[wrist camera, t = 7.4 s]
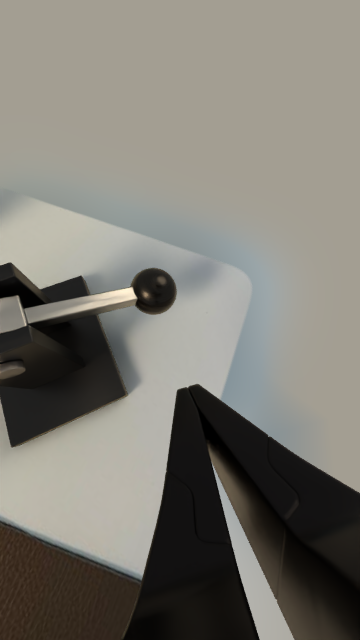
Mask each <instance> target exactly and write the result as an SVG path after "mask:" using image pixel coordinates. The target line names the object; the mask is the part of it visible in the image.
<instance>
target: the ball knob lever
mask: <svg viewBox="0 0 360 640" xmlns="http://www.w3.org/2000/svg"><path fill="white" fill-rule="evenodd" d="M176 294H177V289H176V284H175V282H174V280H173V278H172V277H171V276H170V275H169V274H168V273H167V272H165V271H163V270H161V269H158V268H148V269H145V270H143V271H141V272H139V273H138V274H137V275H136V276H135V277H134V279H133V281H132V283H131V286H130V287H129V288H124V289H119V290H114V291H109V292H104V293H99V294H94V295H89V296H84V297H79V298H74V299H69V300H64V301H59V302H54V303H49V304H44V305H39V306H34V307H29V308H25V309H24V307H23V304H22V302H21V300H20V297H19V296H18V295H15V296H10V297H4V298H0V335H2V334H5V333H7V332H10V331H13V330H16V329H18V328H21V327H24V326H26V325H30V326H31V327H33V328H35V329H38V328H42V327H46V326H50V325H55V324H59V323H63V322H67V321H71V320H75V319H79V318H84V317H88V316H92V315H96V314H100V313H104V312H108V311H112V310H117V309H121V308H125V307H129V306H133V305H135V306H136V307H137V308H138V309H139V310H140V311H142V312H144V313H146V314H151V315H157V314H161V313H163V312H165V311H167V310H168V309H169V308H170V307H171V306H172V305H173V303H174V301H175V299H176Z"/></svg>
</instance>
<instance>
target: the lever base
mask: <svg viewBox="0 0 360 640" xmlns="http://www.w3.org/2000/svg"><path fill="white" fill-rule="evenodd" d="M15 295H18V296H19V297H20V300H21V302H22V304H23V307H24V309H25V308H29V307H34V306H39V305H44V304H49V303H54V302H59V301H64V300H69V299H74V298H79V297H84V296H89V295H90V293H89V290H88V287H87V285H86V282H85V280H84V279H83V277H82V276H79V277H76V278H73V279H70V280H67V281H64V282H61V283H58V284H55V285H52V286H49V287H46V288H43V289H39V288H38V287H37V286H35V285H34V284H33V283H32V282H31V281H30V280H29V279H28V278H27V277H26V276H25V275H24V274H23V273H22V272H21V271H20V270H18V269H17V268H16V267H15V266H14V265H13V264H12V263H7V264H4V265H0V298H4V297H10V296H15ZM126 396H128V393H127V391H126V388H125V385H124V383H123V380H122V377H121V375H120V372H119V369H118V367H117V364H116V361H115V359H114V356H113V354H112V351H111V348H110V346H109V343H108V340H107V338H106V335H105V332H104V330H103V327H102V324H101V322H100V319H99V316H98V314H96V315H92V316H88V317H84V318H79V319H75V320H71V321H67V322H63V323H59V324H55V325H50V326H46V327H42V328H38V329H35V328H33V327H31V326H30V325H26V326H24V327H21V328H18V329H16V330H13V331H10V332H7V333H5V334H2V335H0V399H1V403H2V408H3V413H4V417H5V422H6V426H7V431H8V435H9V440H10V444H11V447H16V446H19V445H22V444H24V443H26V442H28V441H30V440H33V439H35V438H37V437H39V436H41V435H43V434H46V433H48V432H50V431H52V430H54V429H56V428H59V427H61V426H63V425H65V424H67V423H69V422H72V421H74V420H76V419H78V418H80V417H82V416H85V415H87V414H89V413H91V412H93V411H95V410H98V409H100V408H102V407H104V406H106V405H108V404H111V403H113V402H115V401H117V400H119V399H121V398H124V397H126Z"/></svg>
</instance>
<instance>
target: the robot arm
mask: <svg viewBox="0 0 360 640" xmlns="http://www.w3.org/2000/svg"><path fill="white" fill-rule="evenodd" d="M212 464H213V466H214V468H215V470H216V472H217V474H218V477H219V479H220V481H221V483H222V485H223V487H224V489H225V492H226V493H227V496H228V498H229V500H230V502H231V504H232V506H233V509H234V511H235V513H236V515H237V517H238V519H239V521H240V524H241V526H242V528H243V530H244V532H245V534H246V536H247V539H248V541H249V543H250V545H251V547H252V549H253V552H254V554H255V556H256V558H257V560H258V562H259V564H260V567H261V569H262V571H263V573H264V575H265V577H266V579H267V582H268V584H269V586H270V588H271V590H272V592H273V594H274V597H275V599H277V603H278V605H279V607H280V609H281V612H282V613H283V616H284V618H285V620H286V622H287V624H288V627H289V629H290V631H291V633H292V635H293V637H294V639H295V640H360V493H359V492H357V491H355V490H354V489H352V488H350V487H349V486H347V485H345V484H343V483H342V482H340V481H338V480H337V479H335V478H333V477H332V476H330V475H328V474H326V473H325V472H323V471H322V470H320V469H318V468H317V467H315V466H313V465H312V464H310V463H308V462H307V461H305V460H304V459H302V458H300V457H299V456H297V455H296V454H294V453H293V452H291V451H290V450H288V449H287V448H285V447H284V446H283V445H281V444H280V443H278V442H277V441H276V440H274V439H273V438H272V437H268V435H267V434H266V433H265V432H263V431H262V430H260V429H259V428H258V427H256V426H255V425H254V424H252V423H251V422H250V421H248V420H247V419H245V418H244V417H243V416H241V415H240V414H239V413H237V412H236V411H234V410H233V409H232V408H230V407H229V406H228V405H226V404H225V403H224V402H222V401H221V400H219V399H218V398H217V397H215V396H214V395H213V394H211V393H210V392H208V391H207V390H206V389H204V388H203V387H202V386H200V385H199V384H195V385H192V386H189V387H188V388H187V387H185V388H181V389H178V390H177V394H176V402H175V409H174V416H173V424H172V431H171V439H170V446H169V454H168V461H167V468H166V471H167V472H166V475H165V482H164V489H163V495H162V501H161V506H160V510H159V514H158V519H157V523H156V527H155V531H154V535H153V539H152V543H151V547H150V551H149V555H148V559H147V562H146V566H145V570H144V574H143V578H142V582H141V586H140V589H139V593H138V596H137V599H136V603H135V606H134V609H133V612H132V614H131V617H130V620H129V622H128V625H127V627H126V630H125V632H124V634H123V636H122V638H121V640H260V639H259V636H258V633H257V630H256V627H255V623H254V620H253V617H252V613H251V610H250V607H249V604H248V600H247V597H246V594H245V591H244V587H243V584H242V581H241V578H240V574H239V570H238V566H237V563H236V559H235V555H234V551H233V548H232V543H231V539H230V535H229V531H228V527H227V523H226V519H225V515H224V511H223V507H222V503H221V499H220V495H219V491H218V487H217V483H216V479H215V475H214V470H213V467H212Z"/></svg>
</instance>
